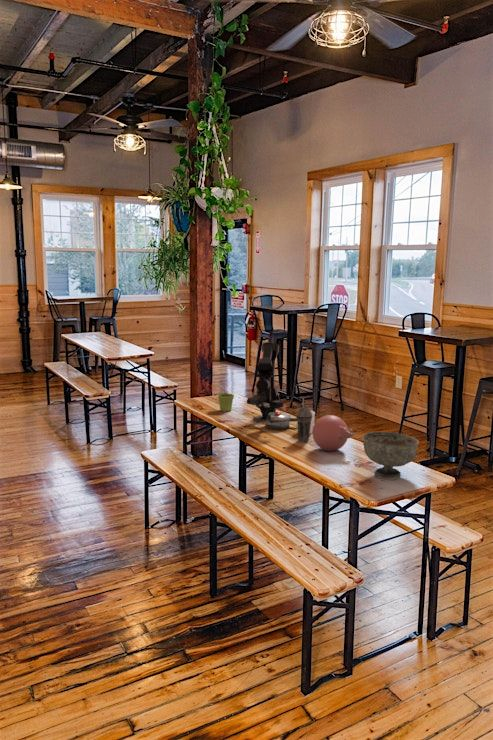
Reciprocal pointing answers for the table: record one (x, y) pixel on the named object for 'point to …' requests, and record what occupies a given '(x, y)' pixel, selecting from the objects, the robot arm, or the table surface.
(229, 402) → the plant pot
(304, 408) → the beverage cup
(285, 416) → the lid
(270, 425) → the pot
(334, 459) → the table surface
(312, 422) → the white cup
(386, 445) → the bowl
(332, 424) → the balloon
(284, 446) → the table surface
